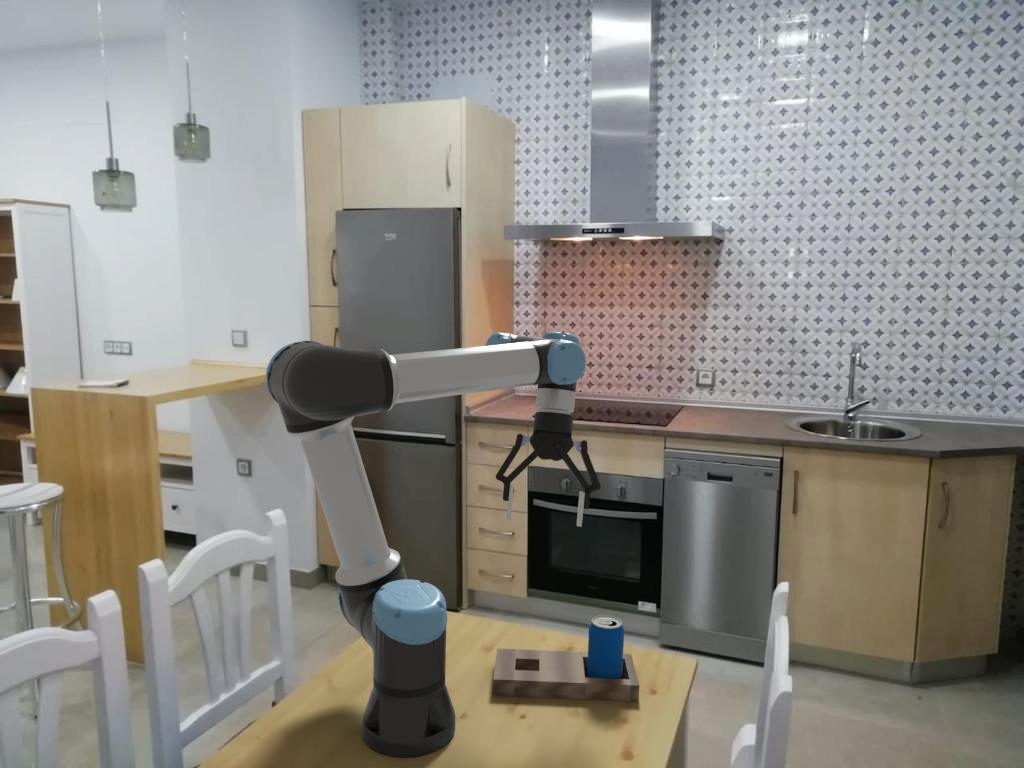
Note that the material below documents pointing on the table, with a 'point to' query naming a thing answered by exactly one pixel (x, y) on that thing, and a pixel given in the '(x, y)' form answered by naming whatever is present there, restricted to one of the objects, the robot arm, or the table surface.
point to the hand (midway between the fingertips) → (543, 522)
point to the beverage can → (605, 647)
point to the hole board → (559, 676)
